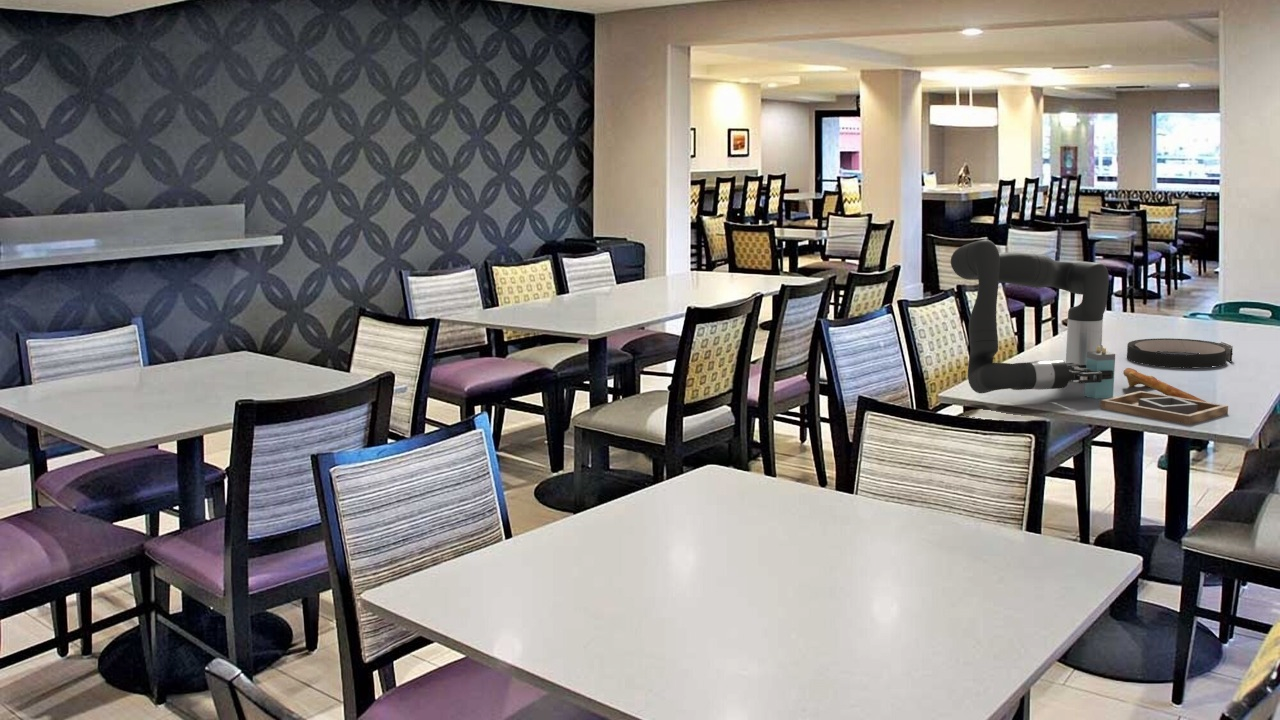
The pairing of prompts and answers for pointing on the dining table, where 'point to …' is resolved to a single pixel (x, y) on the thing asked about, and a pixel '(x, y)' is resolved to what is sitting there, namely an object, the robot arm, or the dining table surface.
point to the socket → (1169, 404)
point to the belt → (1208, 351)
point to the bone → (1155, 384)
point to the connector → (1100, 362)
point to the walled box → (1130, 405)
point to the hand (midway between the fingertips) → (1103, 371)
